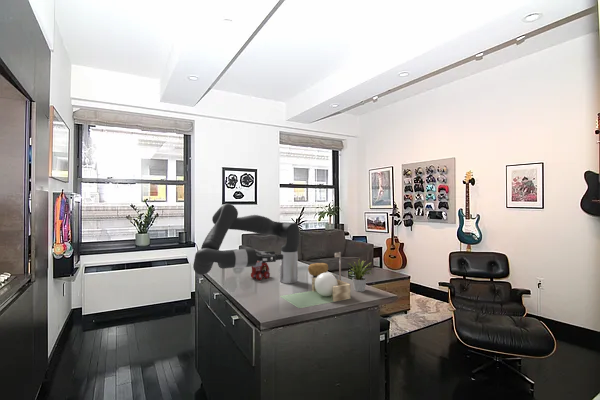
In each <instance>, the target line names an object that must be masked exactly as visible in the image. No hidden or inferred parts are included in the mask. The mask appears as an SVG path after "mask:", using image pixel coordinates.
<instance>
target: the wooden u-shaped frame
mask: <svg viewBox="0 0 600 400" xmlns="http://www.w3.org/2000/svg"><path fill="white" fill-rule="evenodd" d="M334 258H336V259H337V258H339V259H338V260H339V261H338V264H339V266H338V268H339V269H338V271H339V274H338V275H339V277H338V279H337V278H336V280H337V283H338V286H333V301H334V302H333V303H335V301H336V302H340V300H341V301H345V299H346V300H350V298H351V283H348V282H346V281H343V280H342V268H341V267H342V263H341V262H342V252H341V251H339V252H334ZM316 278H317V276H314V277H312V278H311V291H316V289H315V280H316Z"/></svg>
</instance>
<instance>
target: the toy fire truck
mask: <svg viewBox="0 0 600 400" xmlns="http://www.w3.org/2000/svg"><path fill="white" fill-rule="evenodd" d="M270 276H271V273H270V267H269V264H268V262H266V263H262V262H259V261H257V263H256V265H255V266H252V267H251V273H250V277H251V279H256V280H258V281H261V280H263V278H264V279H270Z"/></svg>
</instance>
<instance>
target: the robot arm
mask: <svg viewBox="0 0 600 400" xmlns="http://www.w3.org/2000/svg"><path fill="white" fill-rule="evenodd" d="M238 216H239V211H238V209H237V208H236V206H234V205H233V204H231V203H225V204H224V203H223V205H221V206H220V207H219V209H217V211H215V213H214V214H213V216H212V220H211V221H212V223H213V224H214V225H213V226H212V227H211V229H210V231H209V232H208V233H207V234H206V237H205V238H204V241H203V242H202V245H201V247H200V249H199V250H197V251H196V252H195V255H194V261H193V264H192V268H193V271H194V272H195V273H196V274H197V275H200V276H201V275H203V276H205V275H206V274H208V273H210V271H211V270H212V269H213V265H214V263H217V266H218V267H219V268H220V269H223V270H224V269H234V268H235V269H238V268H239V269H240V268H252V266H255V265H256V263H257V261H259V262H262V263H275V262H277V261H280V260H281V261H280V262H281V263H280V264H279V282H281V283H283V284H296V283H298V281H299V280H298V279H299V276H298V271H299V269H298V268H299V267H298V264H299V263H298V262H299V261H298V256H299V255H298V252H299V251H298V250H299V245H300V227H299V225H298V224H297V223H295V222H281V221H274V220H272V219H270V218H269V217H266V216H264V215H258V214H250V215H245V216H239V217H238ZM229 230H234V231H237V230H238V231H244V232H250V233H254V234H259V235H273V236H277V237H279V238H281V239H285V240H286V243H285V244H283V245H281V249H280V250H281V251H280V252H281V253H280V254H276V252H275V251H274V250H273V251H265V250H257V251H256V248H240V249H234V250H233V249H232V250H221V249H220V248H221V246H222V244H223V241H224V239H225V237H226V234H227V233H228V231H229Z"/></svg>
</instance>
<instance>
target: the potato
mask: <svg viewBox="0 0 600 400" xmlns="http://www.w3.org/2000/svg"><path fill="white" fill-rule="evenodd" d="M328 270H329V264H328V263H325V262H315V263H311V264H309V265H308V267H307V271H308V274H309V275H311V276H312V277H317V276H318V275H320V274H322V273H328Z"/></svg>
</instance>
